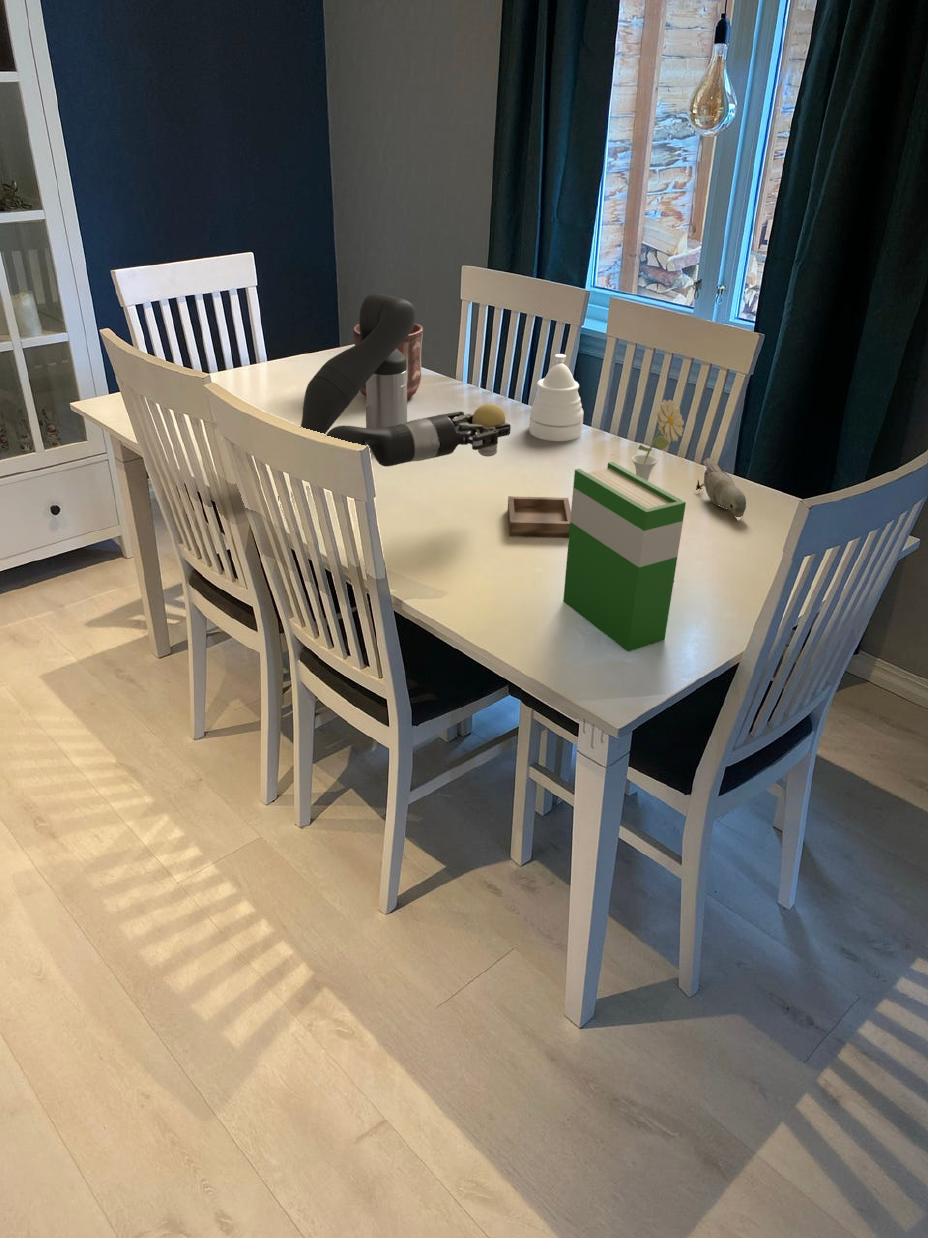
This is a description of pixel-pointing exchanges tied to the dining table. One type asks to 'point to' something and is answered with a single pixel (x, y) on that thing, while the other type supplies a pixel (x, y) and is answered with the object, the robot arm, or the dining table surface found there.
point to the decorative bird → (722, 489)
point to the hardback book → (622, 554)
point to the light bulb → (488, 423)
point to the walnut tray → (539, 517)
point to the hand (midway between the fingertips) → (498, 423)
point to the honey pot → (557, 405)
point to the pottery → (412, 354)
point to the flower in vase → (660, 437)
